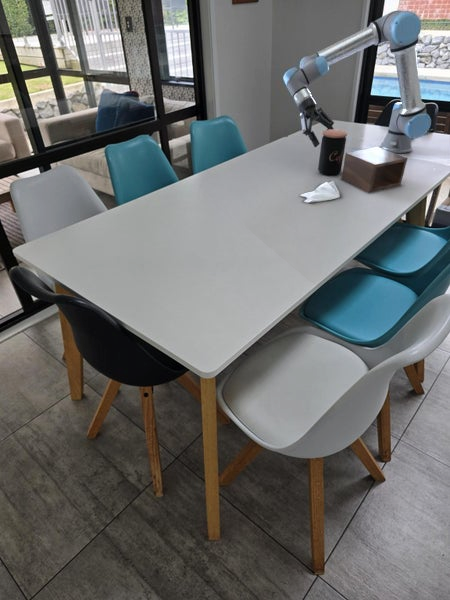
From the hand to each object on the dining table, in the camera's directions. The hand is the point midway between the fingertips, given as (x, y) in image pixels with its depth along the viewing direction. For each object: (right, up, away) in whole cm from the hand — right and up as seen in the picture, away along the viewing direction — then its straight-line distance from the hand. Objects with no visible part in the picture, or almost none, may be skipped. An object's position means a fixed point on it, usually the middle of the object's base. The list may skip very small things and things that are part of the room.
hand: (326, 142), depth 188 cm
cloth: (-5, -28, -15) cm, 32 cm away
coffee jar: (+3, -12, +6) cm, 14 cm away
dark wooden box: (+18, -20, -5) cm, 27 cm away
